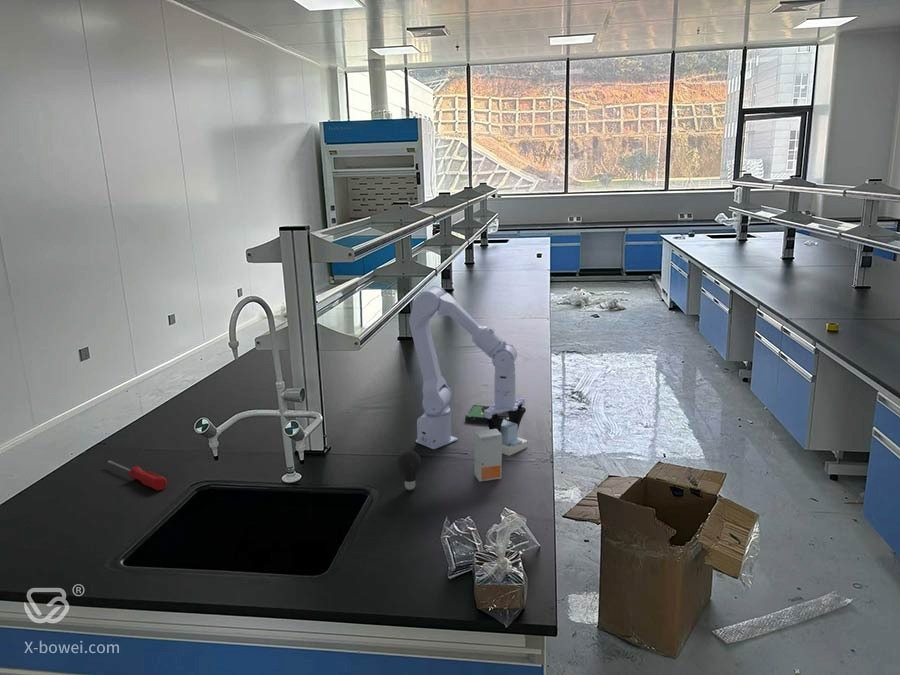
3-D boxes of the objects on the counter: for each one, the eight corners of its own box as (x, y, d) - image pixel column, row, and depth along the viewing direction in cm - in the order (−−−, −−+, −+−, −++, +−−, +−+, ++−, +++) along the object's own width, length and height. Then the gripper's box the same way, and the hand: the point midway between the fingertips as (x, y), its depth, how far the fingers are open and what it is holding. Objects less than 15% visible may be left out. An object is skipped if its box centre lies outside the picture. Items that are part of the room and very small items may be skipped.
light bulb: (393, 489, 154) (392, 451, 151) (411, 482, 158) (409, 444, 155) (409, 497, 150) (407, 458, 148) (426, 489, 154) (425, 451, 151)
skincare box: (479, 482, 157) (479, 437, 154) (474, 475, 161) (473, 430, 158) (502, 479, 158) (502, 434, 155) (496, 471, 162) (496, 427, 159)
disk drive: (518, 416, 201) (473, 412, 205) (518, 408, 201) (473, 404, 205) (512, 428, 192) (464, 423, 196) (512, 420, 191) (464, 415, 195)
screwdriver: (116, 464, 171) (114, 452, 171) (169, 488, 157) (167, 475, 157) (102, 469, 169) (100, 457, 168) (155, 493, 155) (153, 480, 154)
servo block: (513, 454, 173) (513, 427, 171) (486, 443, 180) (486, 418, 178) (523, 449, 175) (523, 423, 173) (496, 439, 182) (496, 414, 181)
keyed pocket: (508, 455, 171) (508, 448, 171) (482, 445, 178) (482, 439, 178) (527, 447, 177) (527, 440, 176) (501, 437, 184) (501, 431, 183)
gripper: (497, 399, 166) (498, 447, 169) (533, 386, 175) (532, 432, 179) (478, 393, 171) (478, 440, 174) (513, 380, 180) (513, 425, 184)
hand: (504, 435), depth 177 cm, fingers open, 7 cm apart
